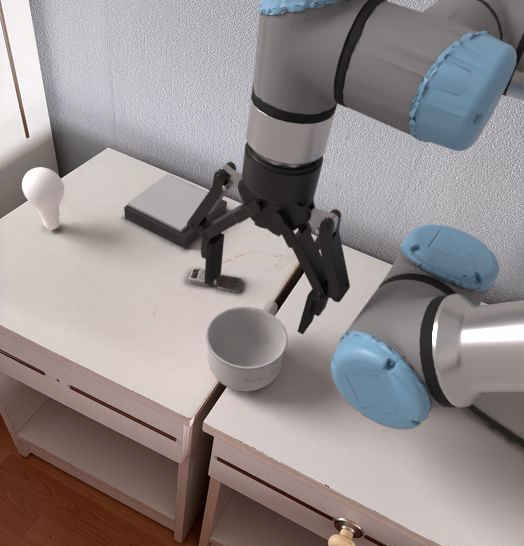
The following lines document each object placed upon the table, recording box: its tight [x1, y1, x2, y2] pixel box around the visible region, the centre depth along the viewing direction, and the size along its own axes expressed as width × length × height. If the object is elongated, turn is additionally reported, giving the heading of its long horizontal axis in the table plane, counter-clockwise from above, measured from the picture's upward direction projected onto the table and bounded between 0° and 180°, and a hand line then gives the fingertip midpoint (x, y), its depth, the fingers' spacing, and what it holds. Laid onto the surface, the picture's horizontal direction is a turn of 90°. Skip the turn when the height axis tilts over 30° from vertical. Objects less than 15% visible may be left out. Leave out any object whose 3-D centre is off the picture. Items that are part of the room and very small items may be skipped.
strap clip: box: [188, 267, 243, 293], centre depth 82 cm, size 8×3×4 cm, turn 81°
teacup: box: [205, 300, 289, 392], centre depth 71 cm, size 14×11×8 cm
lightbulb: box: [21, 166, 65, 230], centre depth 83 cm, size 6×6×11 cm
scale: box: [123, 173, 228, 250], centre depth 92 cm, size 13×13×3 cm
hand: (257, 302), depth 65 cm, fingers open, 13 cm apart
